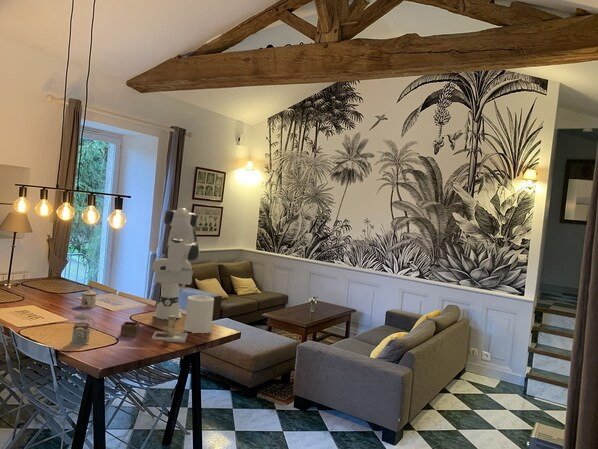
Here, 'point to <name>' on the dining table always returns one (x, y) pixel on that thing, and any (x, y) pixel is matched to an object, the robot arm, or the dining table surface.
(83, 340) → the french press
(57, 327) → the dining table surface
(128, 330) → the pen pot
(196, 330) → the canister
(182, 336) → the tray
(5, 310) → the dining table surface
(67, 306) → the dining table surface
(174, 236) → the robot arm
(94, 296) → the teacup with lid
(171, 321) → the dowel
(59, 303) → the dining table surface
